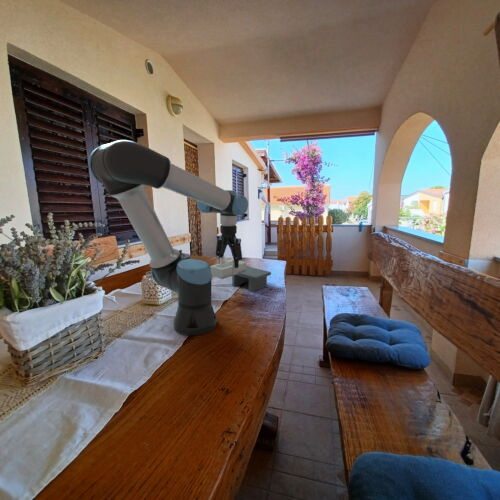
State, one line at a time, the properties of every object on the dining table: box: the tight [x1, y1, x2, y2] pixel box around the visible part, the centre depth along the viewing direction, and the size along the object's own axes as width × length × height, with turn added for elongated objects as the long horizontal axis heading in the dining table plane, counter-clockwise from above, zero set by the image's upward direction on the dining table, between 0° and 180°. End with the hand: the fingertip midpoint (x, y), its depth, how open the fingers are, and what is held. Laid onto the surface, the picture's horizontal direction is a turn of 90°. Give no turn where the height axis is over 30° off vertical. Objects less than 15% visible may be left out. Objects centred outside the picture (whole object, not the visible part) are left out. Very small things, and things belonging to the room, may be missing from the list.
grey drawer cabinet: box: [231, 265, 272, 293], centre depth 134 cm, size 13×18×8 cm
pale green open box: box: [210, 259, 247, 280], centre depth 120 cm, size 16×8×4 cm, turn 140°
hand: (228, 272), depth 121 cm, fingers closed on pale green open box, 8 cm apart
